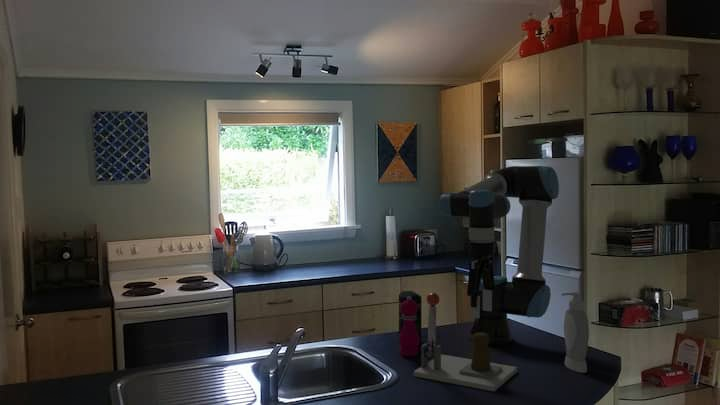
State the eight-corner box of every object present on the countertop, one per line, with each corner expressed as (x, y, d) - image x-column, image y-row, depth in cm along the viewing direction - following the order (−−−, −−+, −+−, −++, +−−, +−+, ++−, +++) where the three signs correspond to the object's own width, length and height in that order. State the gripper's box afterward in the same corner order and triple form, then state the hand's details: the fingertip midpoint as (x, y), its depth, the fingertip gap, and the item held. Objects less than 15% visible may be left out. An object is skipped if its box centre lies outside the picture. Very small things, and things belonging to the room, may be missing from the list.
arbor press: (441, 358, 217) (441, 333, 216) (516, 371, 203) (517, 345, 203) (413, 376, 200) (413, 349, 199) (494, 391, 186) (494, 362, 186)
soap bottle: (550, 363, 211) (551, 289, 210) (571, 361, 213) (572, 288, 211) (572, 376, 199) (573, 297, 197) (594, 374, 200) (596, 296, 199)
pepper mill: (396, 355, 221) (395, 297, 220) (402, 349, 228) (402, 293, 227) (416, 357, 219) (416, 298, 217) (422, 351, 225) (422, 294, 224)
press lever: (427, 356, 206) (430, 291, 206) (439, 358, 204) (441, 292, 204) (422, 358, 202) (424, 292, 202) (433, 360, 200) (436, 294, 200)
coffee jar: (424, 345, 232) (424, 294, 231) (402, 346, 231) (402, 295, 230) (417, 337, 242) (417, 288, 241) (396, 339, 241) (396, 289, 239)
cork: (490, 372, 195) (491, 336, 195) (470, 371, 197) (470, 335, 196) (490, 365, 201) (491, 331, 200) (471, 364, 202) (471, 330, 202)
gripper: (483, 236, 207) (482, 305, 209) (455, 244, 189) (455, 320, 190) (505, 237, 203) (505, 308, 205) (479, 246, 185) (479, 323, 186)
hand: (481, 314), depth 198 cm, fingers open, 9 cm apart
